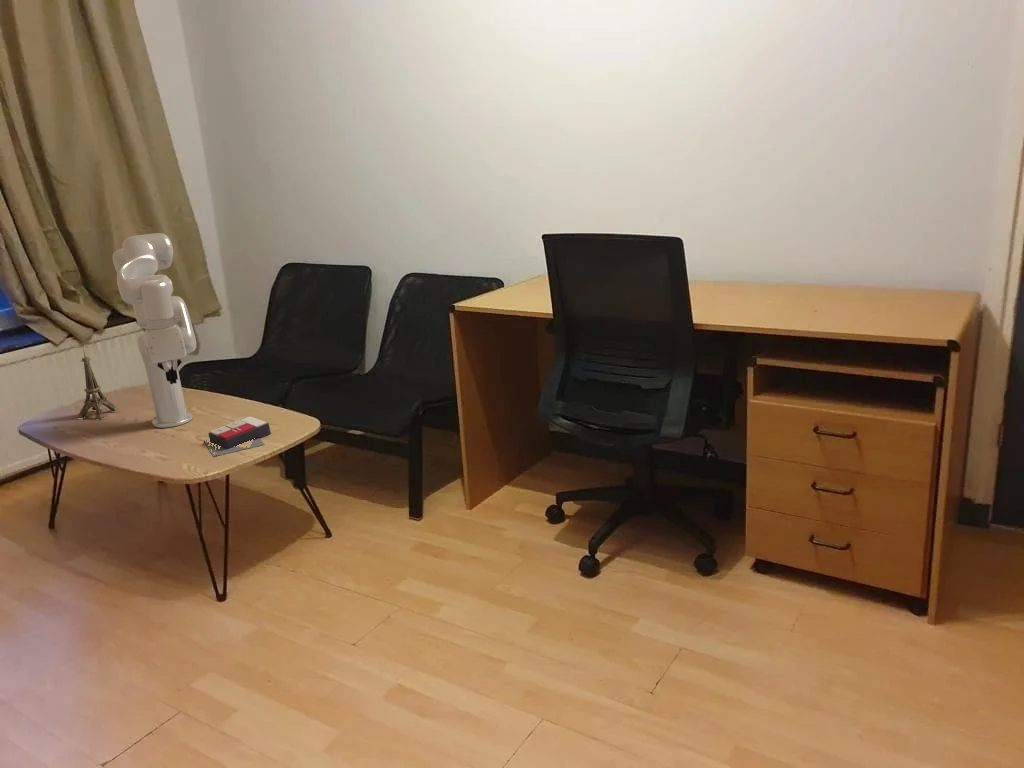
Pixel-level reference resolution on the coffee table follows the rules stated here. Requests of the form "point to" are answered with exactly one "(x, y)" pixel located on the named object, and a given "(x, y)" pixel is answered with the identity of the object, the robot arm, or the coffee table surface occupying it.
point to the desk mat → (223, 450)
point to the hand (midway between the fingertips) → (173, 382)
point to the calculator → (239, 432)
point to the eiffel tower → (93, 393)
